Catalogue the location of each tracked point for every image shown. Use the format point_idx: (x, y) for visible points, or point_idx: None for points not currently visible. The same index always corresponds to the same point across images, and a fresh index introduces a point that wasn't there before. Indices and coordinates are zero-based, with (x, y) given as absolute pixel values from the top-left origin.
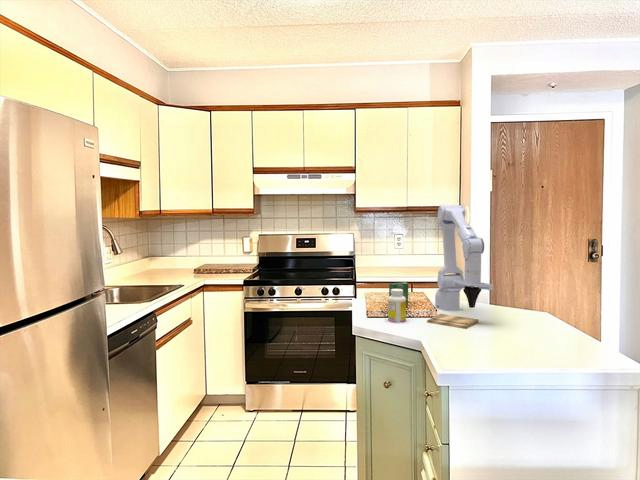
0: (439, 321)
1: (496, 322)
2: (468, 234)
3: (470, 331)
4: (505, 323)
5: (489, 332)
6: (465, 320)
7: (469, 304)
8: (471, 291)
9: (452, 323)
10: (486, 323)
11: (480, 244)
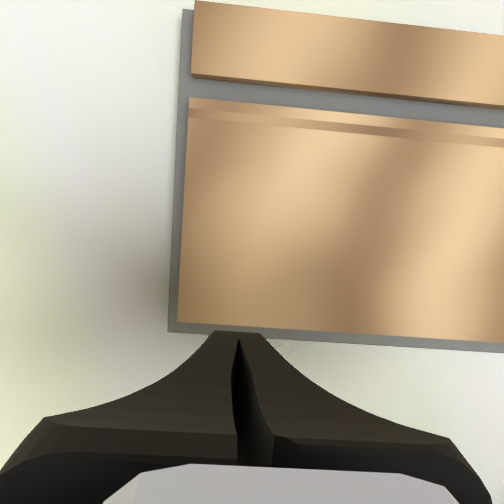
0: (499, 55)
1: None
2: None
3: (172, 63)
4: None
5: (17, 124)
6: (271, 222)
7: (259, 342)
8: (187, 426)
9: (356, 44)
10: None
11: None
